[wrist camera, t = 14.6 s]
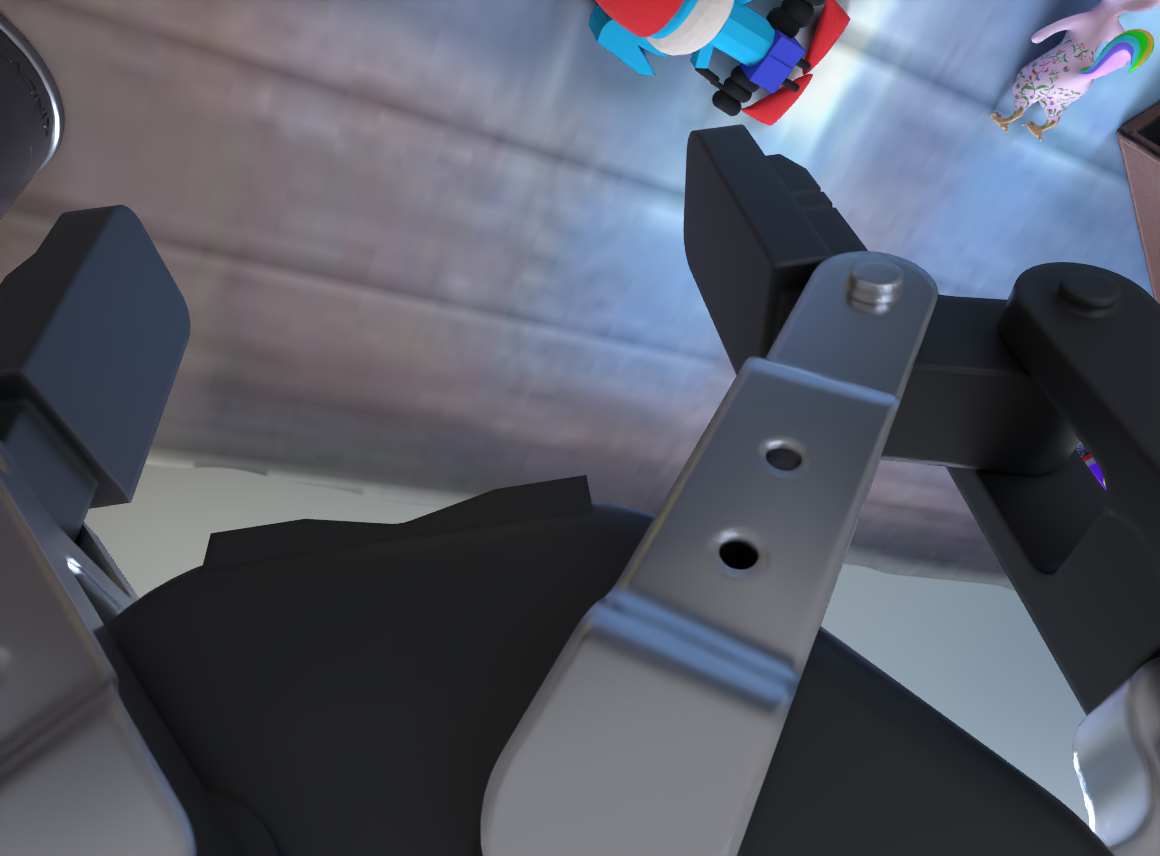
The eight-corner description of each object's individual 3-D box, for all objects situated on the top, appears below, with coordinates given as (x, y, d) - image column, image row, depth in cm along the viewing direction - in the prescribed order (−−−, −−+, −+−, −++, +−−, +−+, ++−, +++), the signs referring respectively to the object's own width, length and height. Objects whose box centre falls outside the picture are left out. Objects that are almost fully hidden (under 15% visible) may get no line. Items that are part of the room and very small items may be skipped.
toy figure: (845, -13, 37) (611, -192, 29) (891, 37, 35) (648, -145, 26) (746, 114, 42) (521, -9, 34) (780, 166, 39) (544, 47, 31)
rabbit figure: (1040, 116, 44) (1299, -190, 32) (1089, 179, 40) (1398, -138, 29) (955, 95, 42) (1196, -237, 30) (998, 159, 39) (1288, -187, 27)
